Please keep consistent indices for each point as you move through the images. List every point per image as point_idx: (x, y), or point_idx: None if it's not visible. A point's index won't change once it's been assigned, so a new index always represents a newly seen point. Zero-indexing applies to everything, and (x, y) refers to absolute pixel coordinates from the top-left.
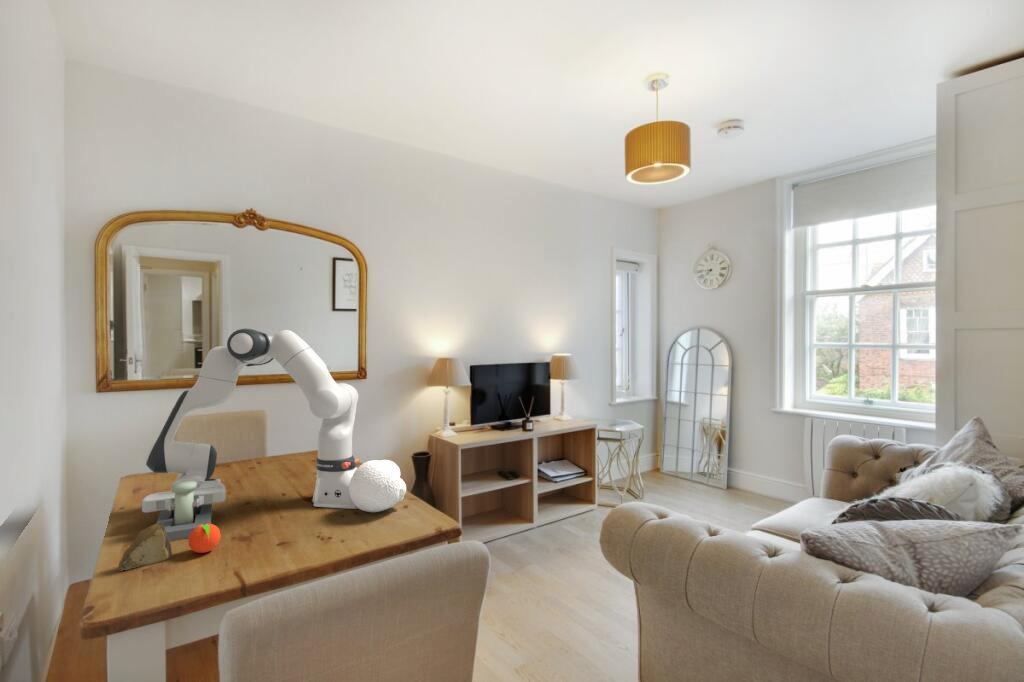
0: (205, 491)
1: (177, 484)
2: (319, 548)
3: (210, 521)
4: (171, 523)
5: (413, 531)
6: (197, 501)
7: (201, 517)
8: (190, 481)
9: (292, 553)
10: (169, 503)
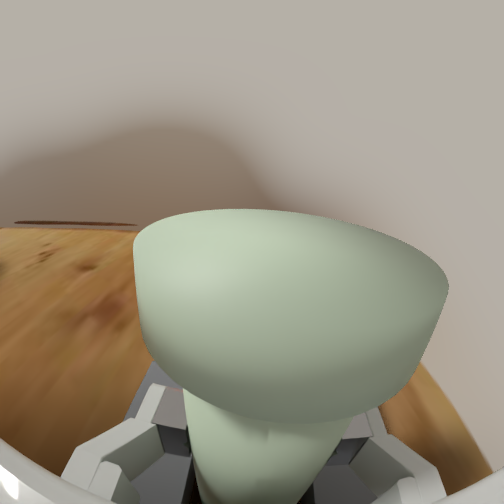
0: (16, 491)
1: (385, 257)
2: (77, 244)
3: (133, 399)
4: (315, 480)
5: (5, 233)
6: (163, 386)
7: (148, 486)
8: (198, 284)
9: (105, 248)
10: (381, 426)
